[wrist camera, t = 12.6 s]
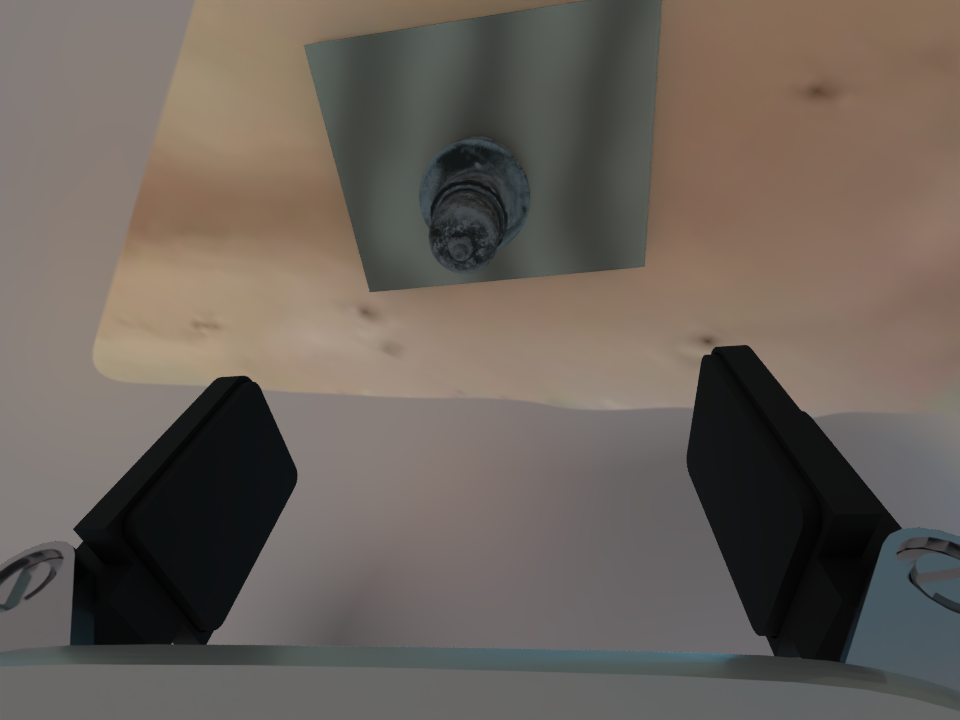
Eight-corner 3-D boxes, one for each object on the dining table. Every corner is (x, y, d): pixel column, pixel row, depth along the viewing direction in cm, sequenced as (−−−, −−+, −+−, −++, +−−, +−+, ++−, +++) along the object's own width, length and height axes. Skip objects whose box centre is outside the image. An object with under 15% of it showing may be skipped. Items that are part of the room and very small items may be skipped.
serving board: (654, -8, 24) (662, -12, 22) (639, 258, 31) (644, 266, 30) (314, 45, 26) (303, 45, 24) (375, 283, 33) (369, 292, 32)
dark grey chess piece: (490, 252, 30) (478, 350, 20) (410, 197, 28) (353, 272, 18) (549, 172, 27) (571, 238, 17) (464, 106, 26) (433, 135, 15)
